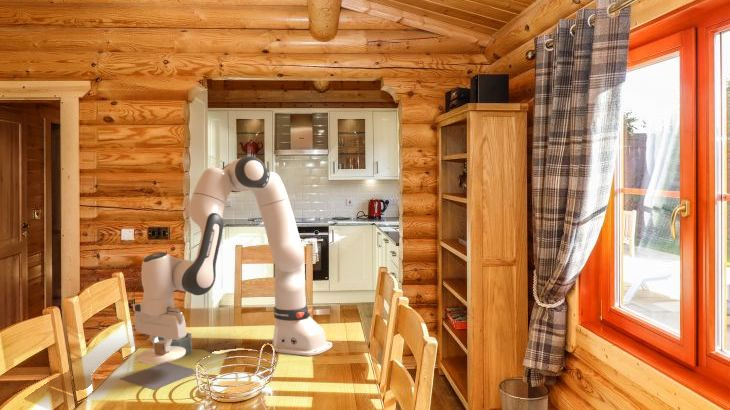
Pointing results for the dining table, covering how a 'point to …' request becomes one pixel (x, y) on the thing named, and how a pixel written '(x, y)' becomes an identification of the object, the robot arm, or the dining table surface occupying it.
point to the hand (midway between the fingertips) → (161, 349)
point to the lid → (161, 354)
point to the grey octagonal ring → (182, 343)
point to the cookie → (222, 346)
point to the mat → (159, 375)
